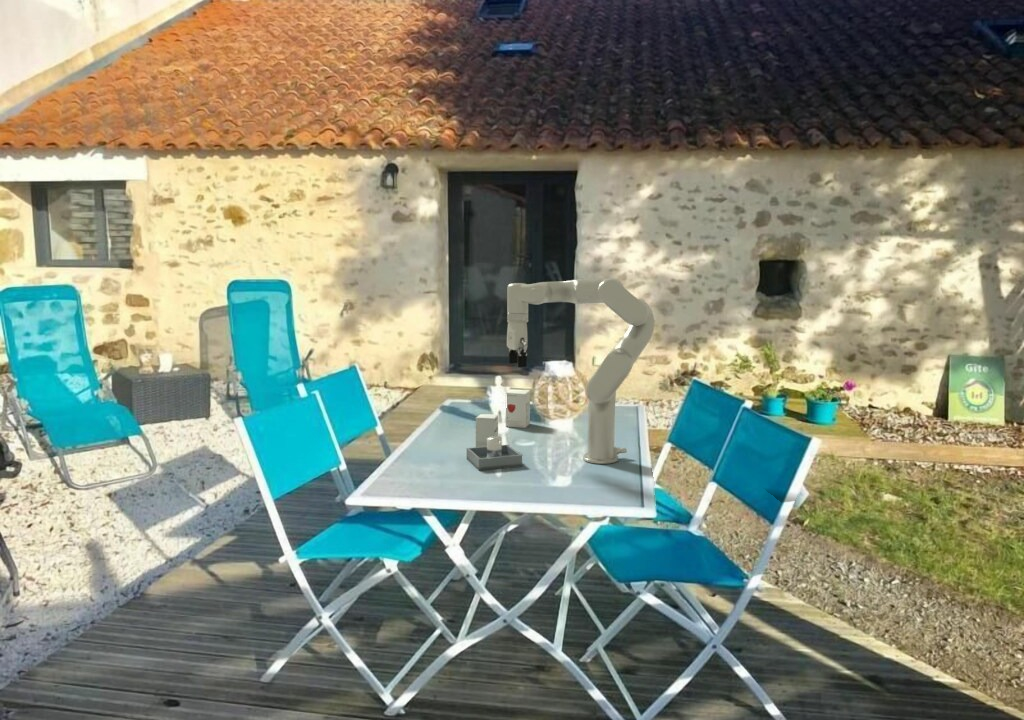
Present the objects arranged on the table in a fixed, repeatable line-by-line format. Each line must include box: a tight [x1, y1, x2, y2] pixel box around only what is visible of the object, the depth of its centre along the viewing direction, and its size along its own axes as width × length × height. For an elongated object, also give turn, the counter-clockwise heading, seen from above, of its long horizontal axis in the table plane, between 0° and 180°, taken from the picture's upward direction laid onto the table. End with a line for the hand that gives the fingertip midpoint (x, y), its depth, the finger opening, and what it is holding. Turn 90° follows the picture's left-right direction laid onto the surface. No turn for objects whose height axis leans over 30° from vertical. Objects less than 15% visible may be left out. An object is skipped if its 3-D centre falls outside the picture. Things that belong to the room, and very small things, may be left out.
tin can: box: [487, 435, 503, 458], centre depth 270 cm, size 5×5×8 cm
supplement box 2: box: [505, 388, 531, 429], centre depth 328 cm, size 9×9×15 cm
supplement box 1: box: [475, 413, 499, 447], centre depth 289 cm, size 7×7×13 cm
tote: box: [466, 444, 523, 471], centre depth 271 cm, size 16×16×4 cm
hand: (517, 365), depth 277 cm, fingers open, 9 cm apart
